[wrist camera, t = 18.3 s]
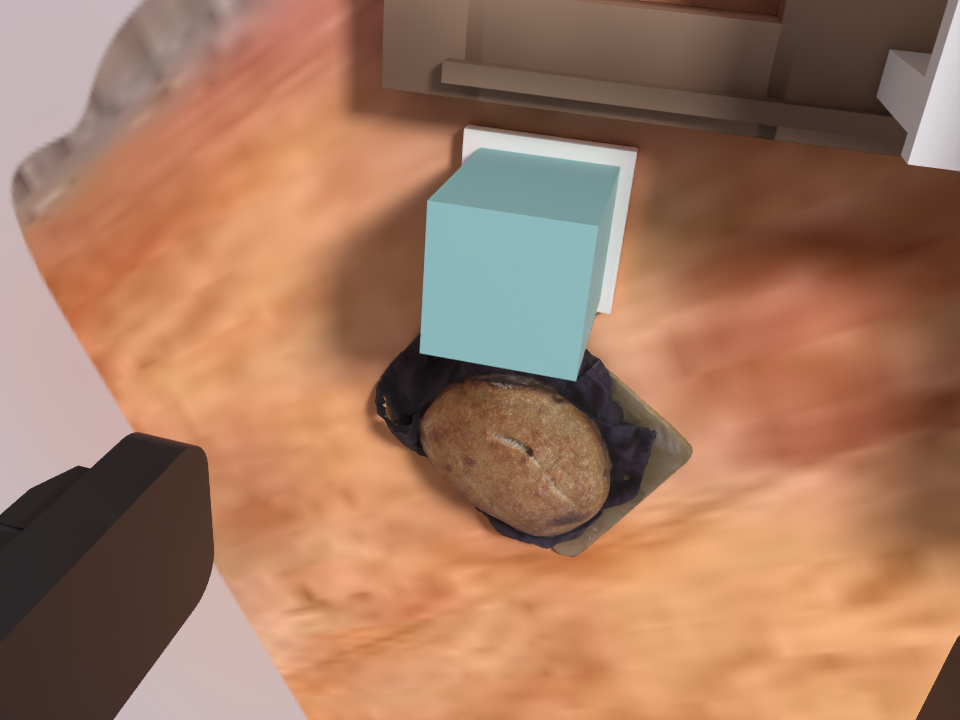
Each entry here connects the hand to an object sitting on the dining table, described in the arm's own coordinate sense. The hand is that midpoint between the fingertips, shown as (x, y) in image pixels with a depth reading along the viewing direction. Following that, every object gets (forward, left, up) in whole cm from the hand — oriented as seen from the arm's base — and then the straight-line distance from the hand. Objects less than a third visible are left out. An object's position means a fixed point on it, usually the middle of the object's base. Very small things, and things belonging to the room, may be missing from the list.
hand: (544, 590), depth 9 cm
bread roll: (+11, -3, -22) cm, 25 cm away
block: (+3, -3, -20) cm, 21 cm away
